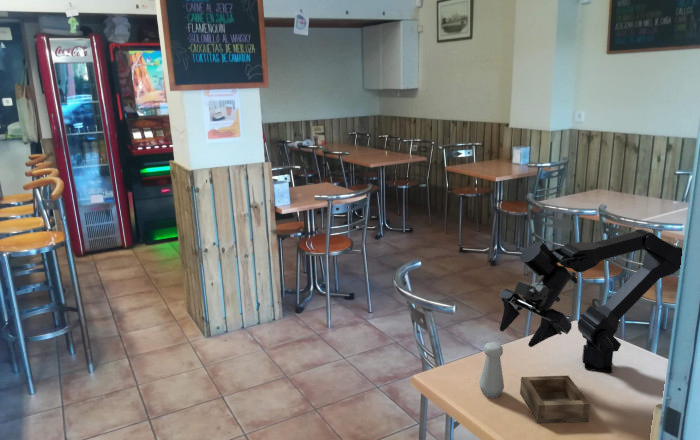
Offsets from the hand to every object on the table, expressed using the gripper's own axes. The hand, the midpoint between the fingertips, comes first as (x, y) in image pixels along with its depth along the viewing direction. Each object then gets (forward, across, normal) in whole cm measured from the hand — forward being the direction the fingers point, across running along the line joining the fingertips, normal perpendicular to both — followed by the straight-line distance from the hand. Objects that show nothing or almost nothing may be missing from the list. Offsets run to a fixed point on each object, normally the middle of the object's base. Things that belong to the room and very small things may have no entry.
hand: (514, 338), depth 126 cm
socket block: (+8, +11, +10) cm, 17 cm away
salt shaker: (+14, 0, +4) cm, 15 cm away
